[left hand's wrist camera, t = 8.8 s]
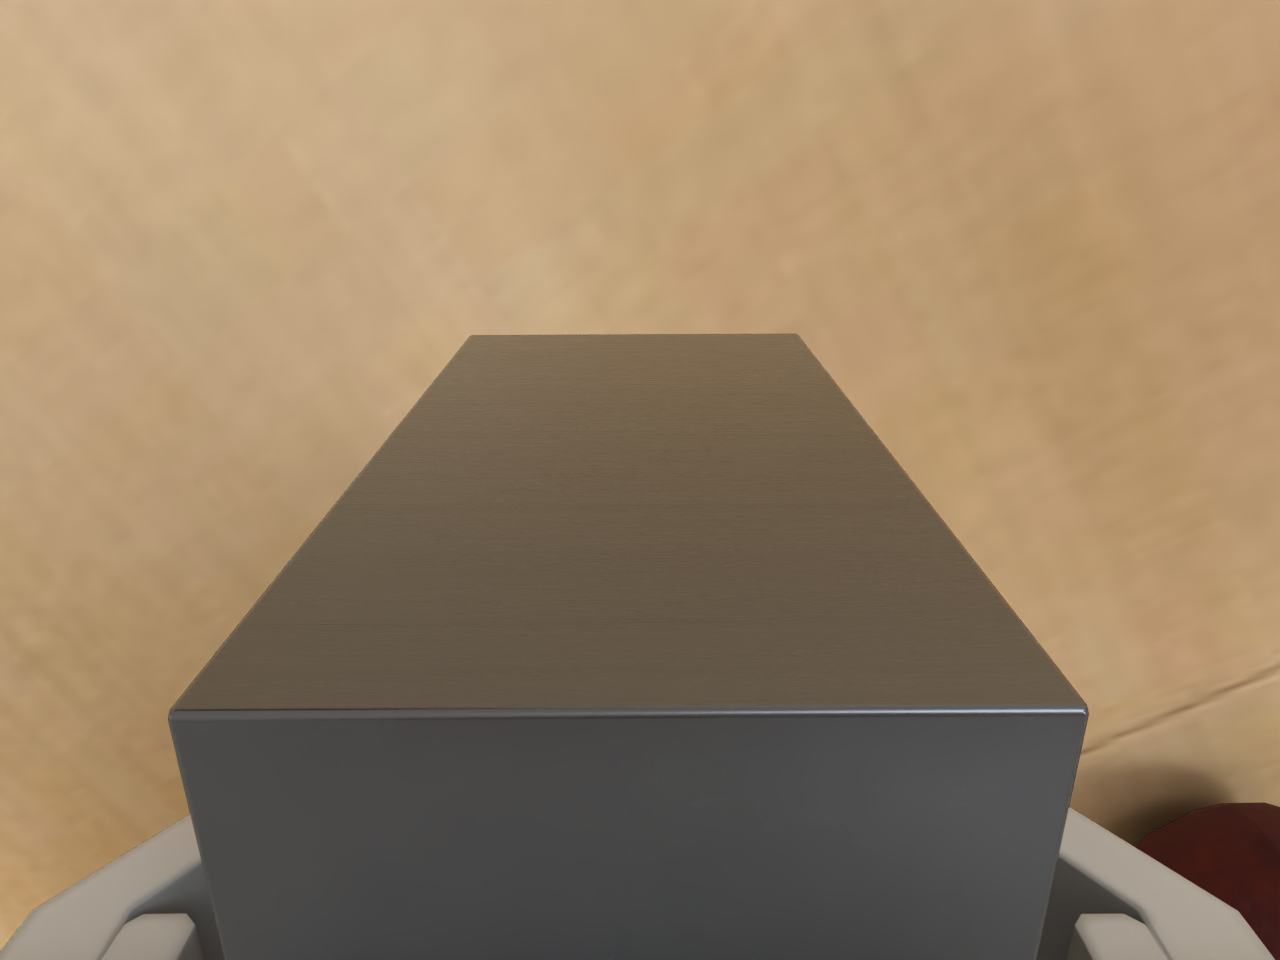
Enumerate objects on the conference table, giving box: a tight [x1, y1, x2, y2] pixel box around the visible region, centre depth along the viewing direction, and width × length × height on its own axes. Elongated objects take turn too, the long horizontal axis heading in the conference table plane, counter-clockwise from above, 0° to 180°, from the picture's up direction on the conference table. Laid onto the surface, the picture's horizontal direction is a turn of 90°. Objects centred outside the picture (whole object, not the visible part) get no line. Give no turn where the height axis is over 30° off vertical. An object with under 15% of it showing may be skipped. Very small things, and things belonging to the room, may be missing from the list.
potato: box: [1136, 803, 1280, 960], centre depth 27 cm, size 7×8×7 cm
